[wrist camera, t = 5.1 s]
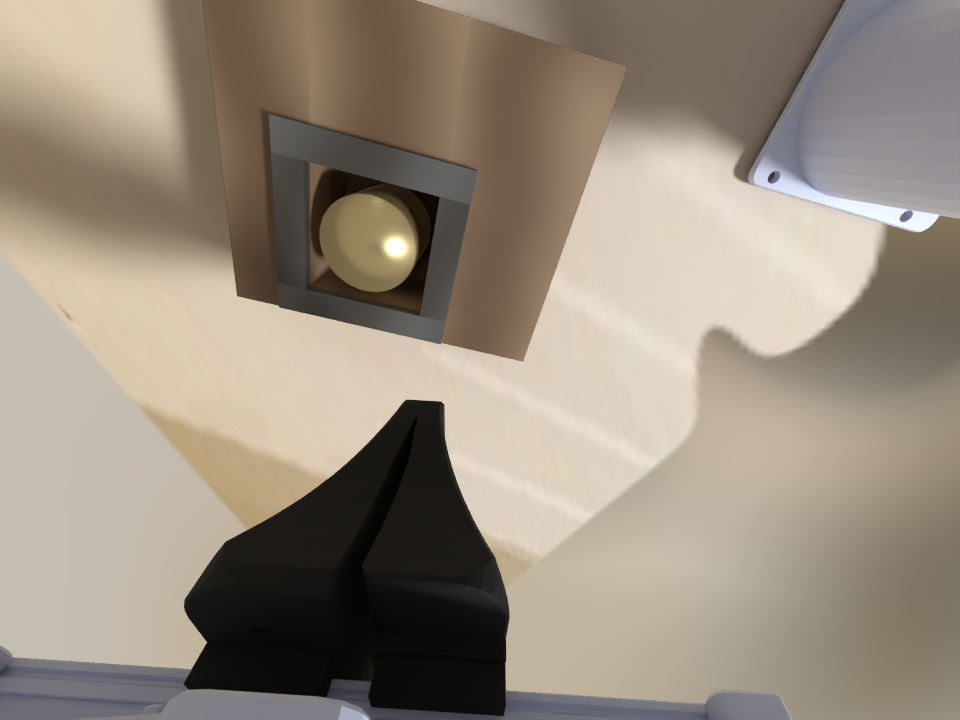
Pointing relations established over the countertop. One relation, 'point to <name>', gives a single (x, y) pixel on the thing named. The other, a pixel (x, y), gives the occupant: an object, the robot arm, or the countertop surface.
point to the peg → (375, 236)
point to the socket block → (404, 156)
